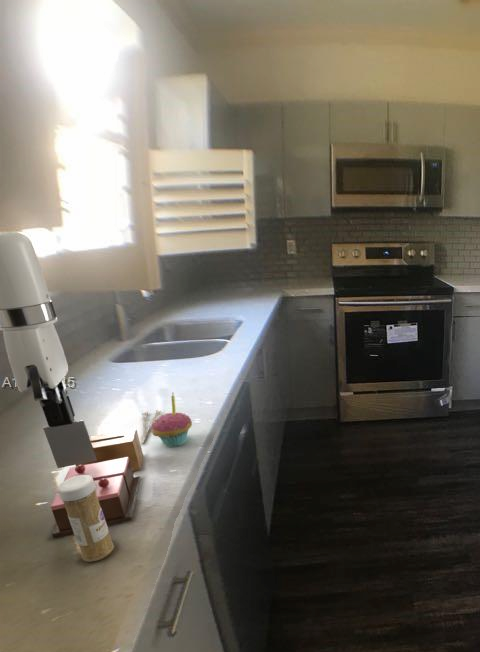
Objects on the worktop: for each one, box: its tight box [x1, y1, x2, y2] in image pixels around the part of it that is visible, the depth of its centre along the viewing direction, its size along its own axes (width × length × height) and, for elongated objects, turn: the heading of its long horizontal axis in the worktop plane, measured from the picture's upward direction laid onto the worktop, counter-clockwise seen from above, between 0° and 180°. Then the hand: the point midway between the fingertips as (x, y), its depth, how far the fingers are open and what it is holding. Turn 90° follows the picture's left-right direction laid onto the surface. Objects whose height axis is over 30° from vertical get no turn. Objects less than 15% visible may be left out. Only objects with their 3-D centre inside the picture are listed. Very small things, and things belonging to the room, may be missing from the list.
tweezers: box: [141, 409, 162, 444], centre depth 115 cm, size 17×5×2 cm, turn 19°
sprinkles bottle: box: [57, 475, 115, 563], centre depth 71 cm, size 5×5×13 cm
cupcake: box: [151, 392, 193, 448], centre depth 105 cm, size 9×8×12 cm
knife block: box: [75, 428, 144, 473], centre depth 96 cm, size 11×6×7 cm, turn 111°
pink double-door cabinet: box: [50, 457, 142, 539], centre depth 84 cm, size 12×14×7 cm
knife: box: [42, 389, 97, 469], centre depth 78 cm, size 6×2×14 cm, turn 111°
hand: (62, 421), depth 78 cm, fingers closed on knife, 1 cm apart
